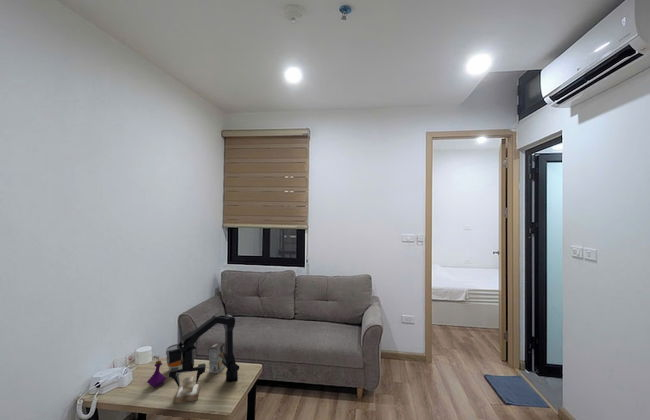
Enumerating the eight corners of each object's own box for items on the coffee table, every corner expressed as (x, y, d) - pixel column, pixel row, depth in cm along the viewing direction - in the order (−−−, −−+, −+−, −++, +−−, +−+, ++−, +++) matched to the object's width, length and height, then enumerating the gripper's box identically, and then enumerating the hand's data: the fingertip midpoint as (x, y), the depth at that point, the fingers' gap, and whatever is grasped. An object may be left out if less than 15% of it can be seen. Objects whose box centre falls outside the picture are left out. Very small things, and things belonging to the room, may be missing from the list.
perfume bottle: (166, 383, 186) (166, 354, 186) (155, 390, 179) (155, 359, 179) (158, 380, 189) (158, 351, 189) (147, 387, 182) (146, 357, 182)
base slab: (200, 388, 180) (200, 382, 180) (197, 399, 169) (197, 394, 169) (178, 391, 177) (178, 386, 177) (174, 403, 166) (174, 398, 166)
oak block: (193, 386, 176) (193, 376, 176) (192, 391, 172) (192, 380, 172) (184, 388, 175) (183, 377, 175) (182, 393, 170) (182, 382, 170)
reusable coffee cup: (181, 375, 195) (181, 351, 195) (162, 375, 195) (161, 351, 196) (190, 365, 208) (190, 343, 208) (172, 365, 208) (172, 343, 208)
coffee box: (216, 365, 207) (216, 341, 207) (225, 366, 206) (225, 342, 206) (209, 372, 198) (208, 347, 198) (217, 373, 197) (217, 348, 197)
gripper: (206, 349, 183) (206, 375, 183) (172, 353, 178) (173, 380, 178) (204, 358, 173) (204, 385, 173) (168, 362, 168) (168, 391, 168)
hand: (187, 385), depth 173 cm, fingers open, 9 cm apart
